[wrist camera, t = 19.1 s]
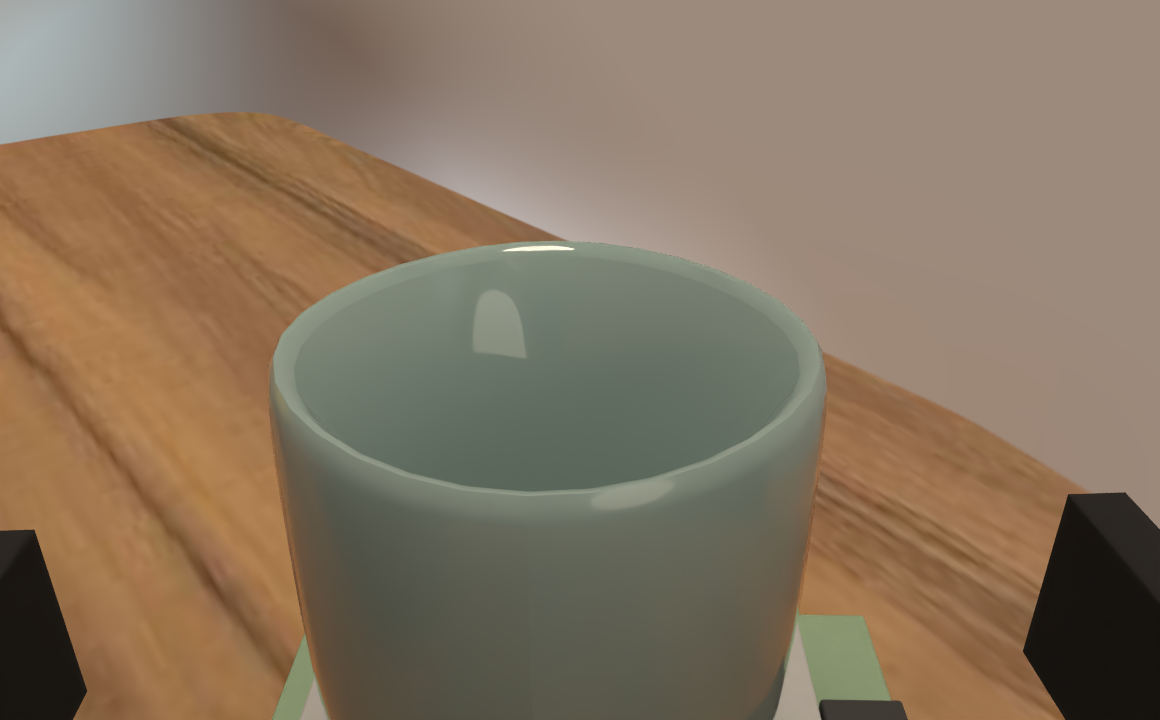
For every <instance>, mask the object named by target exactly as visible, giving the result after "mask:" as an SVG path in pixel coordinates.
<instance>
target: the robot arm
mask: <svg viewBox="0 0 1160 720" xmlns="http://www.w3.org/2000/svg"><path fill="white" fill-rule="evenodd" d="M1023 652H1024V654H1025V656H1026V657H1027V659H1028V660H1029V662H1030V664H1031V665H1032V667H1033V668H1034V670H1035V672H1036V673H1037V675H1038V676H1039V678H1040V680H1041V681H1042V683H1043V684H1044V686H1045V688H1046V689H1047V691H1048V692H1049V694H1050V696H1051V697H1052V699H1053V700H1054V702H1055V704H1056V705H1057V707H1058V708H1059V710H1060V712H1061V713H1062V715H1063V716H1064V718H1065V720H1160V529H1159V528H1158V527H1157V526H1156V525H1155V524H1154V523H1153V522H1152V521H1151V520H1150V519H1149V517H1148V516H1147V515H1146V514H1145V513H1144V512H1143V511H1142V510H1141V509H1140V508H1139V507H1138V506H1137V505H1136V504H1135V502H1134V501H1133V500H1132V499H1131V498H1130V497H1129V496H1128V495H1127V494H1126V493H1097V494H1068V497H1067V500H1066V504H1065V507H1064V511H1063V514H1062V518H1061V521H1060V525H1059V528H1058V532H1057V535H1056V538H1055V542H1054V545H1053V549H1052V552H1051V556H1050V559H1049V563H1048V566H1047V570H1046V573H1045V577H1044V580H1043V583H1042V587H1041V590H1040V594H1039V597H1038V601H1037V604H1036V608H1035V611H1034V615H1033V618H1032V622H1031V625H1030V628H1029V632H1028V635H1027V639H1026V642H1025V646H1024V649H1023ZM86 692H87V689H86V686H85V683H84V680H83V677H82V674H81V671H80V668H79V665H78V662H77V659H76V656H75V653H74V650H73V646H72V643H71V640H70V637H69V634H68V631H67V628H66V625H65V622H64V619H63V616H62V613H61V610H60V607H59V604H58V601H57V598H56V594H55V591H54V588H53V585H52V582H51V579H50V576H49V573H48V570H47V567H46V564H45V561H44V558H43V555H42V552H41V549H40V546H39V543H38V539H37V536H36V533H35V530H11V531H0V720H73V718H74V716H75V714H76V712H77V710H78V708H79V706H80V704H81V702H82V700H83V698H84V696H85V694H86Z"/></svg>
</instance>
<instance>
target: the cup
mask: <svg viewBox="0 0 1160 720" xmlns="http://www.w3.org/2000/svg"><path fill="white" fill-rule="evenodd" d="M267 387H268V401H269V415H270V429H271V438H272V446H273V453H274V461H275V468H276V474H277V480H278V486H279V492H280V499H281V504H282V510H283V516H284V522H285V528H286V533H287V539H288V545H289V550H290V556H291V562H292V567H293V573H294V579H295V584H296V589H297V595H298V600H299V605H300V611H301V616H302V621H303V626H304V631H305V635H306V640H307V645H308V650H309V654H310V659H311V664H312V668H313V672H314V676H315V680H316V684H317V688H318V692H319V696H320V700H321V704H322V707H323V710H324V713H325V717H326V720H775V717H776V713H777V710H778V706H779V702H780V698H781V694H782V690H783V687H784V683H785V679H786V675H787V670H788V665H789V660H790V656H791V651H792V646H793V641H794V636H795V631H796V625H797V619H798V614H799V608H800V602H801V596H802V590H803V583H804V577H805V571H806V564H807V558H808V551H809V544H810V537H811V530H812V523H813V516H814V509H815V502H816V494H817V487H818V480H819V472H820V465H821V457H822V449H823V441H824V431H825V421H826V405H827V385H826V375H825V368H824V361H823V355H822V349H821V347H820V346H819V344H818V342H817V341H816V339H815V338H814V336H813V335H812V333H811V332H810V330H809V329H808V327H807V326H806V324H805V323H804V321H803V320H802V319H801V318H799V317H798V316H797V315H796V314H795V313H794V312H792V311H791V310H790V309H789V308H788V307H786V306H785V305H784V304H783V303H782V302H780V301H779V300H778V299H776V298H774V297H772V296H771V295H769V294H767V293H766V292H764V291H762V290H760V289H758V288H757V287H755V286H753V285H752V284H750V283H747V282H745V281H743V280H741V279H738V278H736V277H733V276H731V275H728V274H726V273H724V272H722V271H719V270H717V269H714V268H711V267H708V266H705V265H702V264H698V263H695V262H692V261H689V260H686V259H682V258H679V257H675V256H671V255H666V254H662V253H657V252H653V251H648V250H643V249H639V248H632V247H624V246H618V245H610V244H604V243H590V242H573V241H538V242H516V243H507V244H498V245H489V246H480V247H474V248H469V249H464V250H459V251H453V252H448V253H443V254H438V255H434V256H430V257H427V258H423V259H419V260H416V261H412V262H408V263H404V264H401V265H398V266H395V267H392V268H389V269H387V270H384V271H381V272H378V273H376V274H373V275H370V276H367V277H364V278H362V279H360V280H358V281H356V282H354V283H352V284H350V285H347V286H345V287H343V288H341V289H339V290H337V291H335V292H333V293H331V294H329V295H328V296H326V297H325V298H323V299H322V300H320V301H319V302H317V303H316V304H314V305H313V306H311V307H310V308H308V309H307V310H305V311H304V312H302V313H301V314H300V315H299V316H298V317H297V318H296V320H295V321H294V322H293V323H292V324H291V325H290V326H289V327H288V328H287V329H286V330H285V331H284V332H283V333H282V335H281V337H280V338H279V340H278V342H277V345H276V347H275V350H274V352H273V355H272V357H271V360H270V362H269V365H268V376H267Z"/></svg>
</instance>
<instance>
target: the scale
mask: <svg viewBox="0 0 1160 720" xmlns="http://www.w3.org/2000/svg"><path fill="white" fill-rule="evenodd" d="M272 720H326V717H325V713H324V710H323V707H322V704H321V700H320V696H319V692H318V688H317V684H316V680H315V676H314V672H313V668H312V664H311V659H310V654H309V650H308V645H307V640H306V635H305V633H304V636H303V639H302V641H301V644H300V647H299V649H298V652H297V654H296V657H295V660H294V662H293V665H292V668H291V670H290V673H289V675H288V678H287V681H286V683H285V686H284V689H283V691H282V694H281V696H280V699H279V702H278V704H277V707H276V710H275V712H274V715H273V718H272ZM775 720H908V719H907V716H906V713H905V711H904V708H903V705H902V703H901V702H900V701H891V698H890V695H889V692H888V689H887V685H886V682H885V679H884V676H883V673H882V670H881V667H880V664H879V661H878V658H877V655H876V652H875V649H874V646H873V643H872V640H871V637H870V634H869V631H868V628H867V625H866V622H865V619H864V617H863V616H849V615H798V619H797V625H796V631H795V636H794V641H793V646H792V651H791V656H790V660H789V665H788V670H787V675H786V679H785V683H784V687H783V690H782V694H781V698H780V702H779V706H778V710H777V713H776V717H775Z"/></svg>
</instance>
